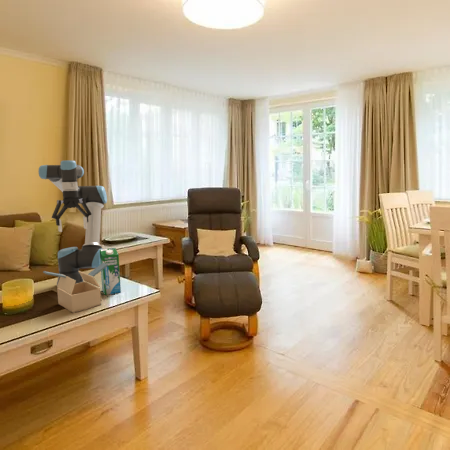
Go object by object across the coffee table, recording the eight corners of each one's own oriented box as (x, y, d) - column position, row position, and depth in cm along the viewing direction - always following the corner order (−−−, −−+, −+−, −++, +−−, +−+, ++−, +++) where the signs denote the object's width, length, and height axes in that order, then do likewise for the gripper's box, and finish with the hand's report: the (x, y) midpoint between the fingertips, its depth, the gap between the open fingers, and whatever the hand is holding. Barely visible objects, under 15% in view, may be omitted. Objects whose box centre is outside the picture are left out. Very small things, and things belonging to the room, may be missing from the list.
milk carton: (104, 295, 206) (101, 252, 202) (102, 290, 214) (99, 249, 210) (120, 292, 210) (118, 250, 206) (117, 288, 218) (115, 247, 214)
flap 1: (57, 286, 191) (37, 283, 184) (62, 274, 192) (42, 270, 184) (71, 294, 179) (50, 290, 172) (76, 280, 180) (55, 276, 173)
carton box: (58, 304, 192) (57, 287, 191) (85, 297, 203) (84, 281, 202) (72, 312, 180) (71, 295, 179) (101, 304, 191) (100, 288, 189)
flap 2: (78, 271, 198) (93, 259, 204) (84, 280, 201) (99, 269, 207) (92, 277, 186) (108, 264, 192) (99, 287, 189) (114, 274, 195)
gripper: (48, 191, 179) (51, 233, 182) (96, 189, 197) (98, 227, 200) (42, 191, 184) (46, 232, 187) (89, 189, 202) (92, 226, 205)
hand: (73, 230), depth 193 cm, fingers open, 13 cm apart
